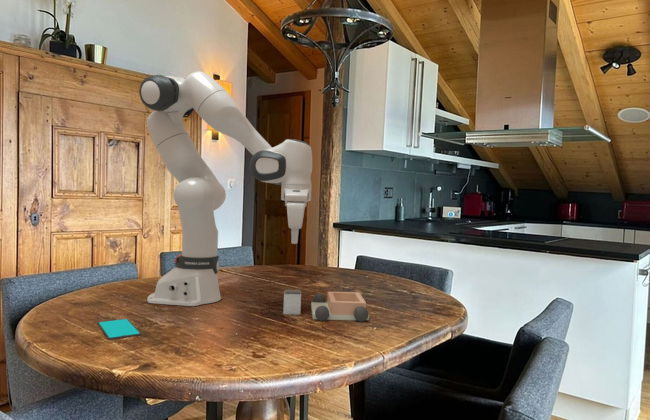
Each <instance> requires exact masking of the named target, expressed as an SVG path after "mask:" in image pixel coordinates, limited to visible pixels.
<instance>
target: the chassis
mask: <svg viewBox="0 0 650 420" xmlns="http://www.w3.org/2000/svg"><path fill="white" fill-rule="evenodd" d="M326 298H327V299H326ZM310 304H311V305H310V308H311V315H312V320H318V321H320V322H325V321H328V320H329V321H333V320H334V321H357V322H358V323H359V322H360V323H363V322H365V321H368V322H369V321H370V314H369V311H368V310H367V302H366V300H365V299H364V298H363V296H362V294H361V293H360V292H359V291H355V292H354V291H327V296H326V297H325V295H324V294H322V293H316V294H315V295H313V297H312V301H311V302H310Z"/></svg>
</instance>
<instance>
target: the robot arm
mask: <svg viewBox="0 0 650 420" xmlns="http://www.w3.org/2000/svg"><path fill="white" fill-rule="evenodd" d="M138 91H139V99H140V100H141V102H142V105H144V106H145V107H146V108H148V109H150V110H152V112H151V113H150V114H149V115H148V116H147V119H146V125H147V129H148V133H149V136H150V138H151V140H152V142H153V145H154V146H155V149H156V150H157V152H158V154H159V156H160V158H161V160H162V162H163V163H164V166H165V168H166V169H167V171H168V172H169V173H170V174H171V175H172V176H173V177H174V178H175V179H176V181H177V182H178V183H177V185H176V186H175V188H174V190H173V200H174V203H175V204H176V206H177V208H178V209H177V210H178V212H179V218H180V225H181V235H182V236H181V237H182V239H181V254H177V256H176V257H175V259H174V265H175V267H174V268H171V270H170V271H168V272H166V273H165V274H164V275H163V276H162V277H160V278H159V279H158V281H157V282H156V286H155V291H154V292H152V293H151V294H149V295H148V296H147V299H146V302H147V303H148V304H156V305H172V306H185V307H195V306H196V307H197V306H200V305H201V306H202V305H205V304H206V305H207V304H212V303H216V302H219V301H220V300H221V299H222V296H221V292H220V287H219V286H220V285H219V278H218V276H219V275H218V273H219V270H220V260H219V255H218V249H219V248H218V247H219V242H218V241H219V231H218V228H217V224H216V220H215V213H214V211H216V210H217V209H220V207H221V206H222V205H223V204H224V203H225V201H226V196H227V194H226V190H225V188H224V186H223V185H222V184H221V183H220V182H219V180H218V179H217V177H216V176H215V174H214V173H213V171H212V170H211V168H210V167H209V166H208V164H207V163H206V161H205V160H204V159H203V158H202V156H201V154H200V152H199V150H198V148H197V147H196V145H195V143H194V141H193V140H192V138H191V136H190V134H189V132H188V130H187V129H186V127H185V125H184V122H183V118H189V117H190V116H191V115H192V113H193V112H194V111H195V112H196V114H197V115H198V116H199V117H200V118H201V120H203V121H204V122H205V123H206V124H207V125H208V126H209V127H211V128H212V129H214V131H217V132H219V133H220V134H223V135H225V136H228V137H230V138H231V139H234V141H237V142H239V143H240V144H241V145H242V146H243V147H244V148H245V149H246V150H247V151H248V152H249V153H250V154H251V155H252V157H251V159H250V162H249V171H250V173H251V175H252V176H253V177H254V178H255V179H256V180H258V181H260V182H262V183H267V184H268V183H269V184H273V185H278V186H280V187H281V188H280V189H281V192H280V194H281V195H280V200H281V201H284V206H285V207H286V211H287V212H286V213H287V225H288V228H289V229H290V234H291V235H290V236H291V237H290V238H291V241H290V242H291V244H292V245H293V244H294V245H296V244H298V242H299V234H300V233H299V232H300V231H299V230H300V229H302V227H303V222H304V215H305V209H306V207H307V206H308V205H307V203H308V202H311V200H312V180H311V179H312V178H311V176H312V172H313V151H312V147H311V146H310V144H308V143H307V142H306V141H302V140H299V139H295V138H287V139H285V140H284V141H282V142H281V143H279V144H278V145H275V146H272V145H271V144H270V143H269V142H268V141H267V140H266V139H265V138H264V136H263V135H261V134H260V133H259V131H257V129H256V128H255V127H254V126H253V125H252V123H251V122H250V120H249V119H248V118H247V117H246V115H245V113H244V112H243V111H242V110H241V108H240V106H239V105H238V104H237V102H236V101H235V100H234V99H233V97H232V96H231V95H230V93H228V91H227V90H226V89H225V88H224V87H223V86H222V85H221V84H220V83H219V82H218V81H217V80H216V79H214V78H213V77H212V76H211V75H209V74H207V73H206V72H204V71H198V70H197V71H193V72H192V73H190V74H188V75H187V76H186V77H185V78H184V77H181V76H176V75H162V74H155V75H154V74H153V75H149V76H146V77H145V78H144V79H143V80H142V81H141V83H140V86H139V90H138Z"/></svg>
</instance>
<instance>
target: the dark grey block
mask: <svg viewBox="0 0 650 420" xmlns="http://www.w3.org/2000/svg"><path fill="white" fill-rule="evenodd" d="M301 306H302V291H301V289H284V291H283V308H282V309H283V313H282V314H283V315H298V316H299V315H301V311H302V310H301Z"/></svg>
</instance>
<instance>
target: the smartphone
mask: <svg viewBox="0 0 650 420" xmlns="http://www.w3.org/2000/svg"><path fill="white" fill-rule="evenodd" d="M97 325H98V326H99V328H100V329H101V331H102V334H103V335H104V337H105V338H106V339H107V340H108V341H113V340H118V339H119V340H120V339H126V338H133V337H134V338H135V337H140V336H141V335H142V332H141V331H140V330H139V329H138V328H137V327H136V325H134V324H133V323H132V321H131V320H129V319H128V318H120V319H112V320H105V321H97Z"/></svg>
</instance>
